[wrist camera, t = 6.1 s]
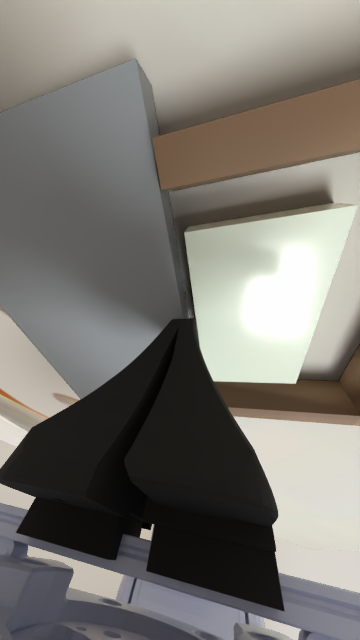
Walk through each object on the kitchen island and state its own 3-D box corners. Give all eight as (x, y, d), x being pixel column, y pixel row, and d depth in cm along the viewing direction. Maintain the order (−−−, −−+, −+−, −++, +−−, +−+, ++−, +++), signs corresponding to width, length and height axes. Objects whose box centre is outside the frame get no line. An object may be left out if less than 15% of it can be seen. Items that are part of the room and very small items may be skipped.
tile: (285, 360, 13) (295, 383, 12) (205, 360, 14) (204, 381, 13) (327, 202, 7) (358, 204, 6) (189, 224, 9) (184, 232, 7)
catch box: (351, 391, 13) (375, 427, 11) (202, 385, 16) (201, 413, 14) (586, 46, 5) (883, -71, 3) (169, 153, 7) (152, 138, 5)
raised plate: (201, 396, 17) (200, 412, 15) (92, 390, 19) (84, 403, 18) (151, 85, 6) (135, 58, 5) (-77, 166, 9) (-124, 161, 7)
